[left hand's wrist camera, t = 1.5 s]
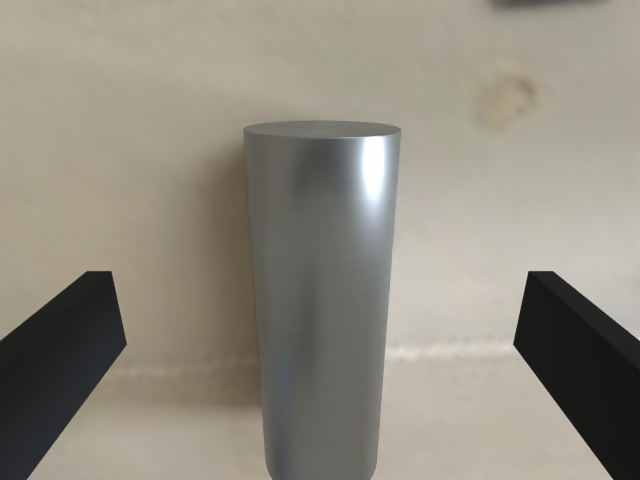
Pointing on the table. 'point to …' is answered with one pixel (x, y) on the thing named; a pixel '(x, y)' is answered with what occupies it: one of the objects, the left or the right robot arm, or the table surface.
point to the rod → (321, 289)
